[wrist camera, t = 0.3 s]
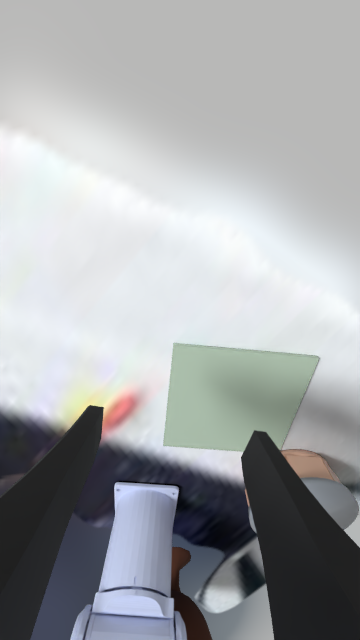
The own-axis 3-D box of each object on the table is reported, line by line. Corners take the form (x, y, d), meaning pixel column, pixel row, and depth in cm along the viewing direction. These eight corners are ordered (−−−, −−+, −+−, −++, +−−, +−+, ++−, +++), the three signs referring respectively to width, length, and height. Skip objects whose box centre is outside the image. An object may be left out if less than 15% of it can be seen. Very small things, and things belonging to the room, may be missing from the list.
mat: (277, 450, 27) (278, 454, 26) (163, 442, 26) (163, 445, 26) (316, 355, 21) (319, 358, 21) (173, 342, 21) (173, 345, 20)
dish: (312, 502, 31) (327, 534, 28) (238, 497, 30) (244, 529, 27) (342, 452, 27) (363, 484, 24) (256, 446, 26) (266, 477, 23)
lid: (330, 537, 28) (351, 583, 25) (238, 531, 28) (246, 577, 24) (372, 481, 23) (405, 528, 20) (262, 473, 23) (276, 520, 19)
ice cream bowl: (201, 534, 35) (213, 743, 21) (211, 567, 39) (226, 756, 26) (132, 541, 36) (102, 744, 22) (150, 572, 40) (134, 756, 27)
